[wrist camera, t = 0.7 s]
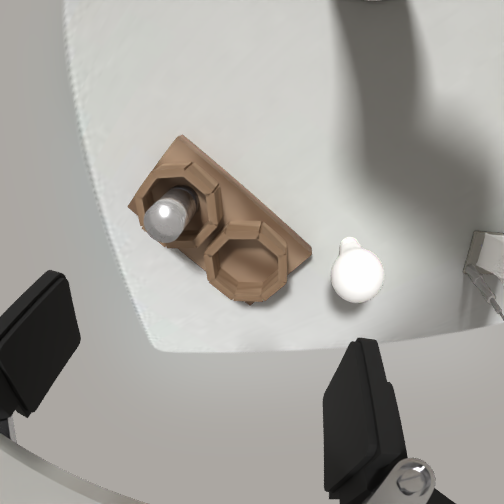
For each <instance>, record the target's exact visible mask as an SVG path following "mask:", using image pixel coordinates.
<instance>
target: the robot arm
mask: <svg viewBox="0 0 504 504" xmlns="http://www.w3.org/2000/svg"><path fill="white" fill-rule="evenodd" d="M366 1H380V0H366ZM80 340H81V337H80V332H79V328H78V324H77V320H76V316H75V311H74V307H73V302H72V297H71V292H70V287H69V282H68V280H67V279H66V277H65V275H64V274H62V273H59V272H56V271H52V270H48V271H47V272H46V273H44V274H43V275H42V276H41V277H40V278H39V279H38V280H37V281H36V282H35V283H34V284H33V285H32V286H31V287H30V288H29V289H27V290H26V292H24V293H23V294H22V295H21V296H20V297H19V298H18V299H17V300H16V301H15V302H14V303H13V304H12V305H11V306H10V307H9V308H8V309H7V310H6V312H4V313H3V315H2V316H1V317H0V504H147V503H144V502H141V501H138V500H135V499H132V498H129V497H127V496H124V495H121V494H118V493H116V492H113V491H110V490H108V489H106V488H103V487H101V486H98V485H96V484H93V483H91V482H89V481H86V480H84V479H82V478H80V477H78V476H76V475H73V474H71V473H69V472H67V471H65V470H63V469H61V468H59V467H57V466H55V465H53V464H51V463H49V462H48V461H46V460H44V459H42V458H40V457H38V456H37V455H35V454H33V453H31V452H29V451H28V450H26V449H25V448H23V447H21V446H20V445H18V444H17V441H16V435H15V430H14V423H13V415H12V414H13V412H14V411H15V410H16V411H17V412H18V413H20V414H21V415H23V416H25V417H27V418H28V417H29V415H30V414H31V412H35V410H36V409H37V408H38V406H39V405H40V403H41V402H42V400H43V398H44V397H45V395H46V393H47V392H48V391H49V389H50V387H51V386H52V384H53V383H54V381H55V380H56V378H57V376H58V375H59V374H60V372H61V371H62V369H63V367H64V366H65V365H66V363H67V362H68V360H69V359H70V357H71V356H72V354H73V353H74V352H75V350H76V349H77V347H78V346H79V344H80ZM323 428H324V489H325V491H326V492H329V499H340V504H455V503H454V502H453V501H451V500H450V499H448V498H447V497H446V496H444V495H443V494H442V493H440V492H439V491H438V490H436V489H435V488H434V487H435V480H436V478H435V475H434V471H433V470H432V468H431V467H430V466H429V465H428V464H427V463H426V462H424V461H423V460H421V459H418V458H408V457H407V452H406V446H405V441H404V435H403V430H402V425H401V420H400V416H399V411H398V406H397V402H396V397H395V393H394V389H393V386H392V384H391V383H390V382H387V380H386V376H385V371H384V367H383V363H382V359H381V355H380V351H379V347H378V343H377V341H376V340H373V339H366V338H358V339H357V340H356V341H355V342H353V341H352V342H350V344H349V346H348V348H347V350H346V352H345V354H344V356H343V358H342V360H341V363H340V364H339V367H338V368H337V371H336V372H335V374H334V376H333V378H332V380H331V382H330V384H329V386H328V388H327V389H326V391H325V393H324V397H323Z"/></svg>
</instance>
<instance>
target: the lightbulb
mask: <svg viewBox="0 0 504 504" xmlns="http://www.w3.org/2000/svg"><path fill="white" fill-rule="evenodd" d="M331 282H332V285H333V288H334V290H335V291H336V293H337V294H338V295H339V296H340V297H341V298H343V299H344V300H346V301H349V302H352V303H363V302H366V301H368V300H371V299H372V298H374V297H375V296H376V295H377V294H378V292H379V291H380V290H381V288H382V286H383V282H384V268H383V265H382V263H381V261H380V259H379V258H378V257H377V256H376V255H375V254H374V253H373V252H371V251H369V250H366V249H363V248H362V246H361V245H360V244H359V243H358V241H357V240H356V239H355V238H353V237H346V238H344V239H343V240H342V241H341V243H340V253H339V257H338V258H337V259H336V260H335V262H334V264H333V267H332V270H331Z"/></svg>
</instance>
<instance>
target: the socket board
mask: <svg viewBox="0 0 504 504" xmlns="http://www.w3.org/2000/svg"><path fill="white" fill-rule="evenodd" d="M176 185H187V186H189V187H191V188H192V189H193V190H195V192H196V193H197V195H198V197H199V201H200V204H199V208H198V211H197V212H196V213H195V215H194V216H193V217H192V219H191V220H190V222H189V223H188V224H187V226H186V227H185V228H184V230H183V231H182V233H181V234H180V235H179V237H178V238H177V239H176V240H175V241H173V242H170V243H161V242H159V243H160V244H161V245H163V246H164V247H165V246H166V245H167V248H178V249H179V250H180V251H181V252H183V253H184V254H185V255H186V256H187V257H189V258H190V259H191V260H192V261H194V262H195V263H196V264H197V265H199V266H200V267H201V268H202V269H204V270H205V271H206V273H207V279H208V281H209V283H210V284H211V285H213V286H214V287H215V288H217V289H218V290H219V291H220V292H222V293H223V294H224V295H226V296H227V297H228V298H230V299H231V300H232V299H233V298H234V301H245V302H246V303H247V304H248V305H252V304H253V303H254V302H255V301H256V302H263V300H264V301H266V300H267V299H268V298H269V297H271V296H272V295H273V294H274V293H276V292H277V291H278V290H279V289H280V288H282V287H283V286H284V285H285V284H286V282H287V275H288V274H289V273H291V272H292V271H293V270H294V269H295V268H297V267H298V266H299V265H300V264H301V263H302V262H304V261H305V260H306V259H307V258H308V257H310V256H311V255H312V248H311V246H310V245H309V244H308V243H306V242H305V241H304V240H303V239H302V238H301V237H300V236H299V235H298V234H297V233H296V232H294V231H293V230H292V229H291V228H290V227H289V226H288V225H287V224H286V223H284V222H283V221H282V220H281V219H280V218H279V217H278V216H277V215H276V214H274V213H273V212H272V211H271V210H270V209H269V208H268V207H267V206H265V205H264V204H263V203H262V202H261V201H260V200H259V199H257V198H256V197H255V196H254V195H253V194H252V193H251V192H250V191H248V190H247V189H246V188H245V187H244V186H243V185H241V184H240V183H239V182H238V181H237V180H236V179H235V178H233V177H232V176H231V175H230V174H229V173H228V172H226V171H225V170H224V169H223V168H222V167H221V166H219V165H218V164H217V163H216V162H215V161H214V160H212V159H211V158H210V157H209V156H208V155H206V154H205V153H204V152H203V151H202V150H200V149H199V148H198V147H197V146H196V145H194V144H193V143H192V142H191V141H190V140H188V139H187V138H186V137H185V136H184V135H181V136H178V137H177V138H176V139H175V140H174V142H173V143H172V144H171V146H170V147H169V148H168V150H167V151H166V152H165V154H164V155H163V156H162V158H161V159H160V160H159V162H158V163H157V165H156V166H155V167H154V169H153V170H152V171H151V172H150V174H149V175H148V177H147V178H146V180H145V181H144V182H143V184H142V185H141V187H140V188H139V190H138V191H137V193H136V194H135V196H134V198H133V199H132V201H131V202H130V204H129V205H128V208H129V209H131V210H132V211H133V212H134V213H135V214H137V215H138V217H139V222H140V226H143V227H142V229H143V230H144V231H146V230H145V227H144V215H145V213H146V211H147V210H148V209H149V208H150V207H151V206H152V205H154V204H155V203H156V202H157V201H158V200H159V199H160V198H161V197H162V196H163V195H164V194H165V193H167V192H168V191H169V190H170V189H171V188H172V187H174V186H176ZM146 232H147V231H146Z"/></svg>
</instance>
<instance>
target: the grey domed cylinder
mask: <svg viewBox="0 0 504 504" xmlns="http://www.w3.org/2000/svg"><path fill="white" fill-rule="evenodd" d="M199 204H200V201H199V197H198V195H197V193H196V192H195V190H193V189H192V188H191V187H189V186H187V185H176V186H174V187H172V188H171V189H170V190H169V191H168V192H167V193H165V194H164V195H163V196H162V197H161V198H160V199H159V200H158V201H157V202H156V203H155V204H154V205H152V206H151V207H150V208H149V209H148V210H147V211H146V213H145V215H144V227H145V230H146V231H147V233H148V234H149V235H150V237H152V238H153V239H154V240H156V241H158V242H161V243H170V242H173V241H175V240H176V239H177V238H178V237H179V235H180V234H181V233H182V231H183V230H184V228H185V227H186V226H187V224H188V223H189V222H190V220H191V219H192V217H193V216H194V215H195V213H196V212H197V211H198V208H199Z"/></svg>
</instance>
